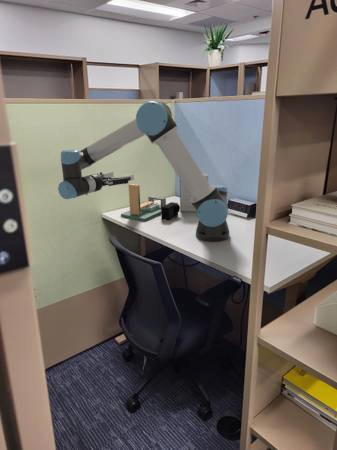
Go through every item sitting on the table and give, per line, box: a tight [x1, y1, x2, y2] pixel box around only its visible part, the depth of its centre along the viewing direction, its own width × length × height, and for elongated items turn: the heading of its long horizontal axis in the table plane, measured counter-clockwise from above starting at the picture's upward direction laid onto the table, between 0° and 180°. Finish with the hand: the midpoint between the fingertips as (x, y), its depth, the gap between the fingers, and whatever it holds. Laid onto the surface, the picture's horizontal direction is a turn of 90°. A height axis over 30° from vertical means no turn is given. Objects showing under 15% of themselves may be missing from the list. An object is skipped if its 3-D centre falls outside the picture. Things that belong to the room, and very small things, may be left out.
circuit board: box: [120, 204, 161, 222], centre depth 191 cm, size 25×16×2 cm, turn 147°
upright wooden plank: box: [127, 183, 155, 216], centre depth 186 cm, size 15×6×16 cm, turn 147°
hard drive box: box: [179, 173, 209, 212], centre depth 192 cm, size 16×8×20 cm, turn 84°
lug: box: [148, 195, 167, 207], centre depth 198 cm, size 3×10×5 cm, turn 57°
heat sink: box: [141, 202, 160, 212], centre depth 193 cm, size 8×8×3 cm
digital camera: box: [160, 201, 180, 222], centre depth 182 cm, size 10×5×7 cm, turn 149°
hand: (122, 175), depth 169 cm, fingers open, 12 cm apart
